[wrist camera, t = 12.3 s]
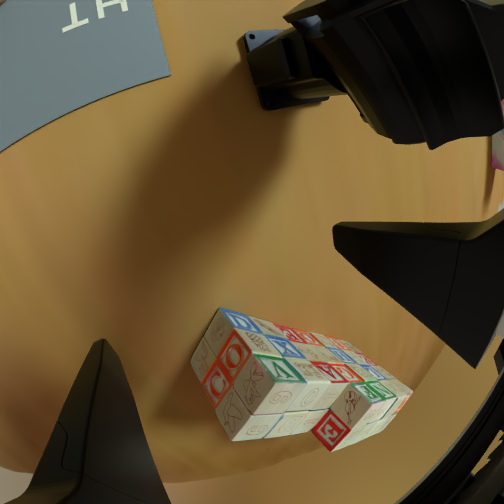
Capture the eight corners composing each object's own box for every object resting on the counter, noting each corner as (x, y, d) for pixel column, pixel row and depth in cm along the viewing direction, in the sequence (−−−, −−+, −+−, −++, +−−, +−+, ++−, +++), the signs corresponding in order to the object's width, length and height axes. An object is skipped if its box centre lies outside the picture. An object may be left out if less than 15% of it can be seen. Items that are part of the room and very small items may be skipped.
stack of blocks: (186, 361, 23) (250, 474, 13) (217, 304, 23) (307, 413, 13) (323, 376, 36) (383, 432, 26) (348, 340, 35) (415, 392, 25)
